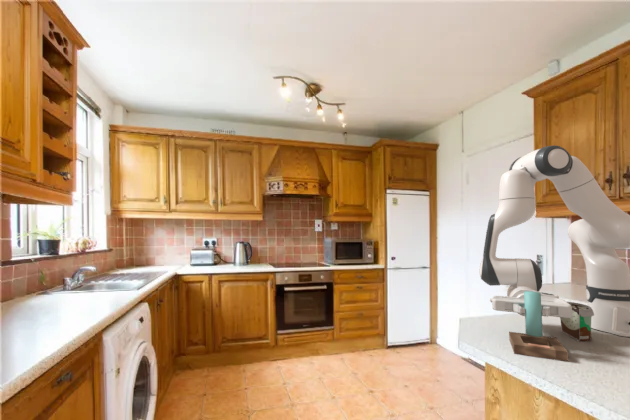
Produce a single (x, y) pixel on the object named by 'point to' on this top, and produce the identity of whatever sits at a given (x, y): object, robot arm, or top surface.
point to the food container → (578, 322)
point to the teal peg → (533, 313)
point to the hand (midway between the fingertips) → (533, 312)
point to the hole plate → (538, 346)
